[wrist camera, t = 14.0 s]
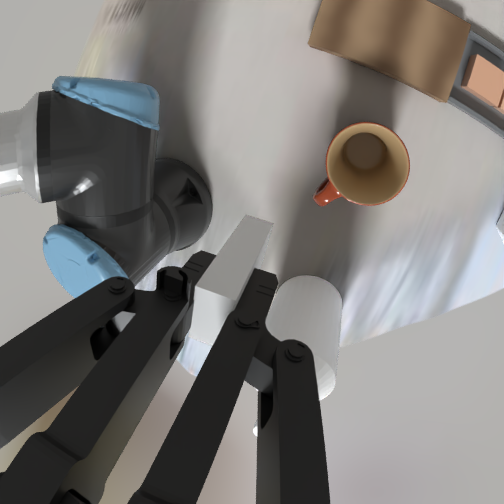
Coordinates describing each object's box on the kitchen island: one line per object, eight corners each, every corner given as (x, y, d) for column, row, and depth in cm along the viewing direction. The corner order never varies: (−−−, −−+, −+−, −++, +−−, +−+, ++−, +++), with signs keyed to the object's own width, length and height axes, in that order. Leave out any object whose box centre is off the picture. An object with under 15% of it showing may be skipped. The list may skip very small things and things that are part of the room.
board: (310, 47, 33) (307, 43, 31) (335, -26, 27) (334, -34, 24) (440, 102, 31) (446, 102, 29) (463, 28, 25) (471, 24, 22)
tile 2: (460, 86, 29) (467, 86, 27) (470, 55, 26) (477, 53, 24) (490, 105, 28) (497, 106, 26) (499, 75, 26) (507, 75, 24)
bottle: (263, 311, 55) (210, 431, 34) (292, 261, 49) (243, 390, 28) (321, 340, 54) (294, 464, 33) (357, 295, 48) (347, 433, 27)
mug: (366, 102, 35) (372, 104, 26) (408, 155, 36) (426, 173, 27) (299, 159, 41) (285, 178, 32) (341, 206, 42) (338, 238, 34)
